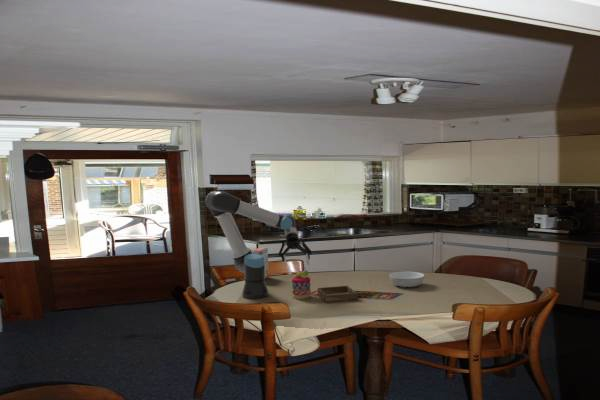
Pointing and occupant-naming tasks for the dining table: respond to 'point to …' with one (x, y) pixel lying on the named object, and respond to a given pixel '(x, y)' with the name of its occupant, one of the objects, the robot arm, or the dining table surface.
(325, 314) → the dining table surface
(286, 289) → the dining table surface
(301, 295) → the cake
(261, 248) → the cracker box
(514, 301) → the dining table surface
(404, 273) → the serving bowl
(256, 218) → the robot arm
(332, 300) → the box
